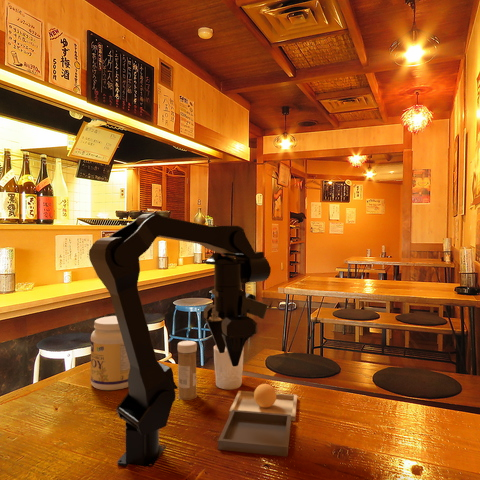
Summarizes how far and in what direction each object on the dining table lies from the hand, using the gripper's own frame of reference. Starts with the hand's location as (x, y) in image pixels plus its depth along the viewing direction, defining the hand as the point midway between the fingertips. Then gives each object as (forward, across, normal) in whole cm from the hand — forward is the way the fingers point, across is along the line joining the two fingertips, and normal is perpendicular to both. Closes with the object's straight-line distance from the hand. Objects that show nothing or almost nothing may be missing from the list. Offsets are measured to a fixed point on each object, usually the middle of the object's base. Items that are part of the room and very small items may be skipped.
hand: (228, 359), depth 81 cm
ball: (+12, +2, -9) cm, 16 cm away
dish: (+13, -9, -3) cm, 16 cm away
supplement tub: (+13, +30, +22) cm, 39 cm away
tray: (+13, +2, -9) cm, 16 cm away
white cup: (+13, +18, -6) cm, 24 cm away
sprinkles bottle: (+13, +14, +6) cm, 20 cm away
